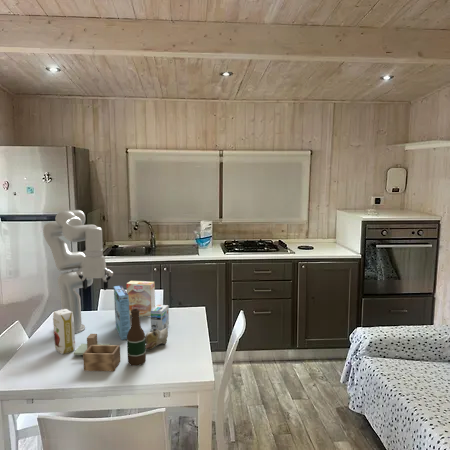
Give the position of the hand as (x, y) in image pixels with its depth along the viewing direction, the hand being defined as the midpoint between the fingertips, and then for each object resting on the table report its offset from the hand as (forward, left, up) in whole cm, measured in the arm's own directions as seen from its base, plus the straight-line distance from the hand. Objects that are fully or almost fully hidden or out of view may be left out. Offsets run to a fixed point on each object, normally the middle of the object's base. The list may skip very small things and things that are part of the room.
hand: (95, 288), depth 192 cm
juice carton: (-14, -4, -29) cm, 33 cm away
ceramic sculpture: (+27, +3, -29) cm, 40 cm away
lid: (0, -6, -29) cm, 29 cm away
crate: (+9, -19, -29) cm, 36 cm away
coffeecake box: (+10, +46, -29) cm, 55 cm away
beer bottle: (+23, -15, -29) cm, 40 cm away
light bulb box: (+25, +27, -29) cm, 47 cm away
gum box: (+7, +18, -29) cm, 35 cm away
